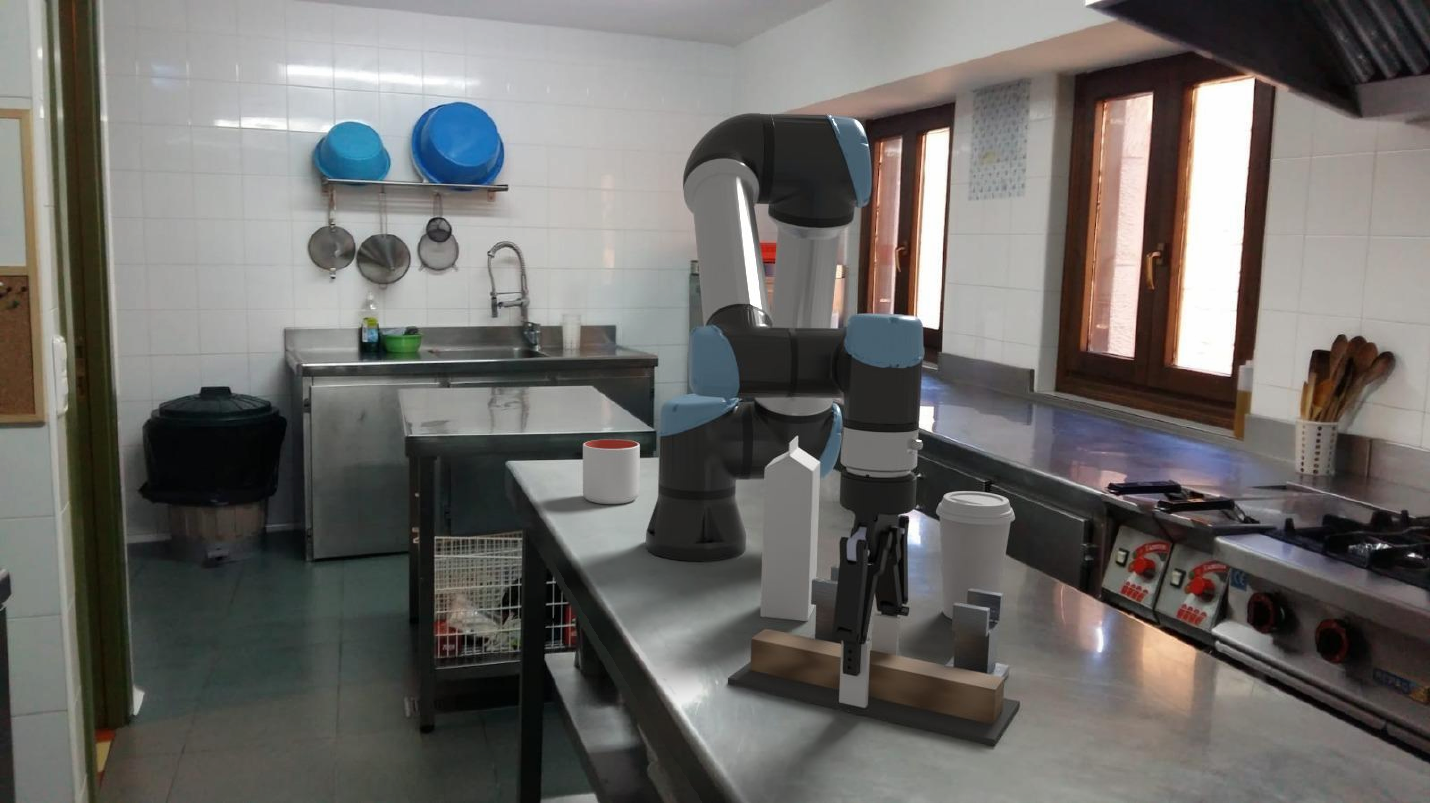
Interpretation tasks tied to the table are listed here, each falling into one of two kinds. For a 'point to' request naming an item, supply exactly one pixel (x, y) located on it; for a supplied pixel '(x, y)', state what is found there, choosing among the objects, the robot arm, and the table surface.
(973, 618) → the post
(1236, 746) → the table surface
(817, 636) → the post
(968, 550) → the coffee cup
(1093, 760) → the table surface
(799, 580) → the milk
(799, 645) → the rail
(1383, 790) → the table surface
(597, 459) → the cup
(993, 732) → the mat
